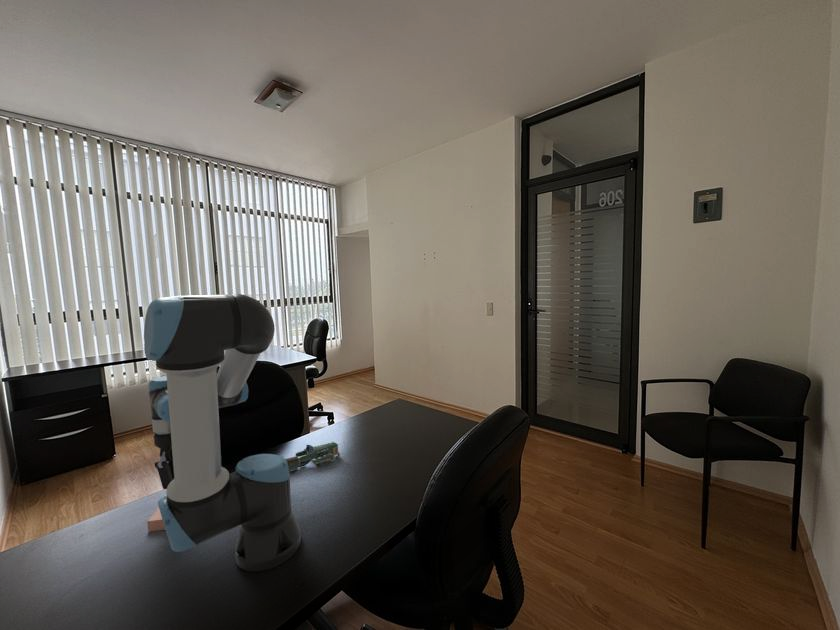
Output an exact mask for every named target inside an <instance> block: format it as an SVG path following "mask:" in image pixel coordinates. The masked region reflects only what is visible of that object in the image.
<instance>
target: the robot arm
mask: <svg viewBox="0 0 840 630" xmlns="http://www.w3.org/2000/svg"><path fill="white" fill-rule="evenodd" d="M143 328H144V329H143V342H144V344H143V345H144V347H143V349H144V355H145V358H146V359H147V361H148V360H149V361H153V362H155V367H156V369H157V370H158V371H160V372H162V373H164V374H165V375H163V376H159V377H154V378H152V379H150V380H149V381H148V391H147V392H148V394H149V395H148V396H149V404H150V405H149V406H150V411H151V425H152V432H153V435H152V436H153V444H154V446H155V447H157V448H159V457H160V458H159V461H155V463H154V467H155V468H156V470H157V472H158V477H159V479H160V483H161V487H162V490H165V492H166V496H163V497H161V498H160V499H158V500H157V506H158V509H160V513H161V516H162V520H163V523H164V526H165V533H166V535H167V539H168V542H169V545H170V548H171V550H172V551H173V552H175V553H181V552H184V551H186V550H189V549H192V548H194V547H198V546H199V545H201V544H202V543H204V542H206V541H209V540H211V539H213V538H215V537H218V536H220V535H221V534H225V533H226V532H228V531H230V530H232V529H234V528H237V527H238V526H240V529H239V532H238V536H237V540H236V544H235V549H234V554H235V555H234V556H235V563H236V565H237V567H238V568H240V569H241V570H244V571H246V572H251V573H257V572H264V571H268V570H271V569H274V568H276V567H278V566H280V565H281V564H284V563H285V562H287V561H288V560H289V559H290V558H291V557H292V556H294V554H295V553H296V552H297V551H298V549H299V547H300V545H301V543H302V542H301V540H302V539H301V538H302V537H301V529H300V525H299V524H298V521H297V520H296V518H295V515H294V514H293V512H292V511H293V509H292V496H291V494H292V493H291V473H289V472H290V471H289V469H288V463H287V461H286V460H285V459H286V458H284V456H283V457H282V455H279V454H275V453H274V454H273V453H258V454H254V455H253V454H252V455H249V456H247V457H243V458H242V459H241V460H240V461H238V462H237V464H236V466H235V471H233V472H230V473H229V470H227V468H225V467H224V466H222V455H221V452H222V451H221V435H220V434H221V433H220V432H221V431H220V416H219V415H220V414H219V411H220V410H219V409H221V408H226V407H230V406H236V405H239V404H240V403H244V402H246V401H247V400H248V397H249V386H248V383H247V380H248V378H249V376H250V374H252V373H251V372H252V371H253V369H254V367H255V365H256V364H257V363H256V362H257V361H258V359H259V357H260V355H261V354H262V353H265V351H266V350H268V349H269V347H270V345H271V343H272V341H273V339H274V336H275V323H274V318H273V316H272V314H271V313H270V311H269V310H268V309H267V307H266V306H265V305H264V304H263V303H262V302H260V301H259V300H257V299H255V298H253V297H251V296H249V295H246V294H240V293H228V294H225V293H224V294H203V295H202V294H200V295H199V294H198V295H196V294H195V295H180V294H179V295H174V296H166V297H165V296H164V297H159V298H155V299H154V300H152V301H151V302H150V303H149V305H148V307H147V310H146V312H145V318H144V327H143ZM218 367H219V368H218ZM217 369H218V371H217Z"/></svg>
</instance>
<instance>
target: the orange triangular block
mask: <svg viewBox="0 0 840 630" xmlns="http://www.w3.org/2000/svg"><path fill="white" fill-rule="evenodd" d="M146 523H147V530H148V531H147V532H157V531H164V530H165V526H164V523H163V520H162V516H161V513H160V509H159V508H158V509H157V510H156V511H155V512H154V513H153V514H152V515H151V516H150V517H149V519H148V520H147V522H146ZM165 531H166V530H165Z"/></svg>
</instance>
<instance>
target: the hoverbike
mask: <svg viewBox="0 0 840 630" xmlns="http://www.w3.org/2000/svg"><path fill="white" fill-rule="evenodd" d="M281 457H283V458H284V455H281ZM340 457H341V453H340V452H339V444H338V443H336V442H335V441H333V440H332V441H331V442H328V443H324V444H320V445H316V446H313V445H311V444H306V448H304V449H303V450H301V451H298V452H296V453H295V456H292V457H286V458H284V459H285V460H286V461H287V463H288V469H289V474H291V473H293V474H294V473H295V474H296V472H297V471H298V469H299V468H300V469H305V468H306V467H307V465H309V463H311V461H313V463H314V464H315V468H317V469H320V467H321V463H323V464H325V463H326V464H327V465H328V466H330V465H331V464H332V462H333V461H335V460H338V459H339V458H340Z"/></svg>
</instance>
